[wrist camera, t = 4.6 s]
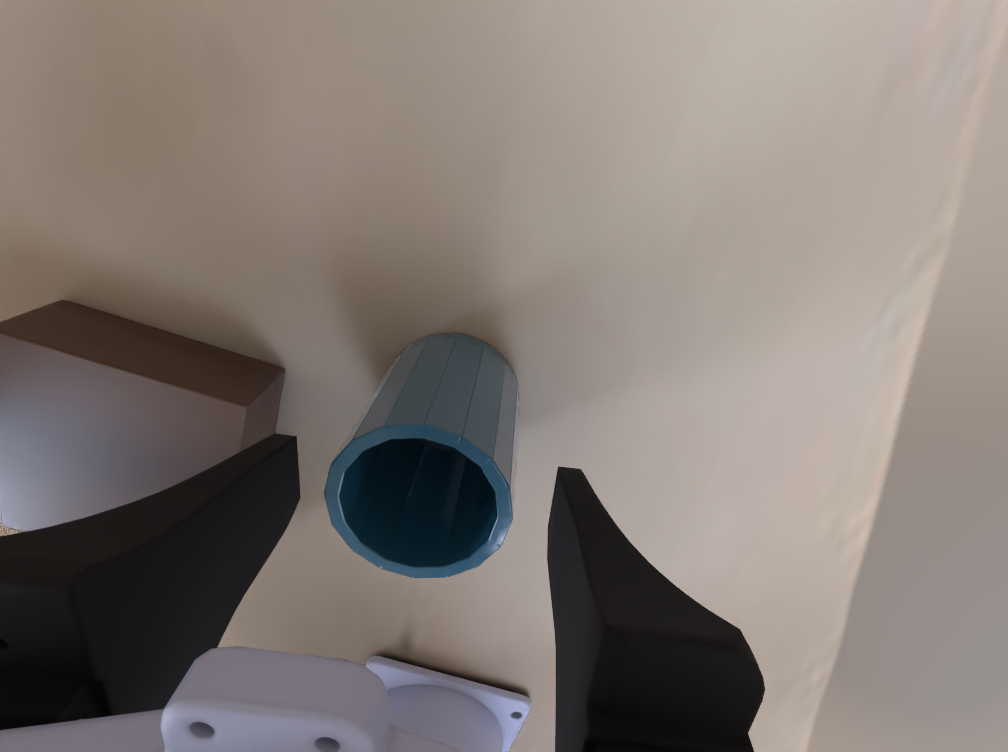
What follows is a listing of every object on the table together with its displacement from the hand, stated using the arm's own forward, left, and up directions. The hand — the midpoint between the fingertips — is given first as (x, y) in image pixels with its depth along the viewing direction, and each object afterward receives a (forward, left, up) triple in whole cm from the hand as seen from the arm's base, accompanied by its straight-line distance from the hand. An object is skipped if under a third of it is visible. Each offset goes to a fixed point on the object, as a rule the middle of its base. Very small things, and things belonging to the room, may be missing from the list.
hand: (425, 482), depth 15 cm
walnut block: (-5, +10, -5) cm, 12 cm away
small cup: (0, 0, -5) cm, 5 cm away
